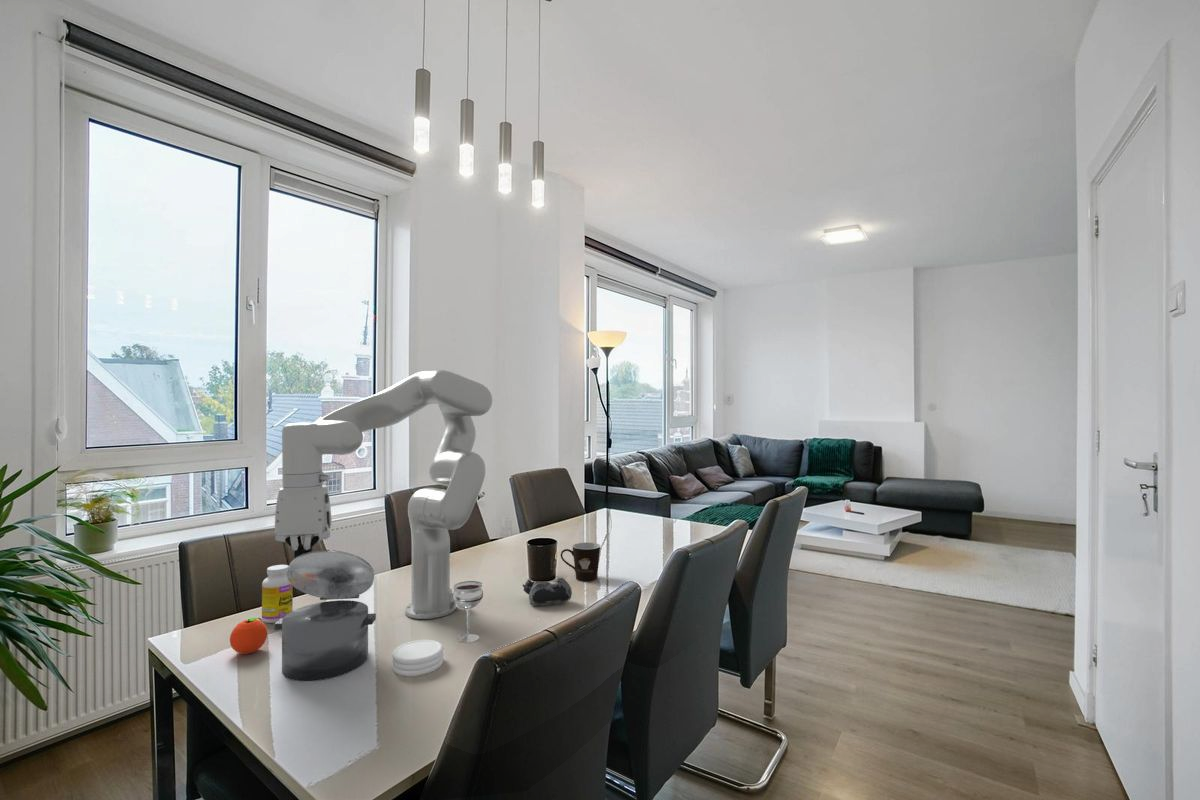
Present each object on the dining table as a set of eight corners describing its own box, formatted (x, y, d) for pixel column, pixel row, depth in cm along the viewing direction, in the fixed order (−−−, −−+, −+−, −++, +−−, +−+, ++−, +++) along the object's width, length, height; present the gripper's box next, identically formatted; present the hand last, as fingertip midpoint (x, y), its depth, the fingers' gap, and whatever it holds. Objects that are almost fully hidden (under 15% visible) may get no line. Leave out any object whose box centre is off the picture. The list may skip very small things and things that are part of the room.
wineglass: (450, 635, 130) (450, 582, 130) (480, 630, 133) (480, 579, 133) (455, 646, 124) (455, 591, 124) (486, 641, 127) (486, 587, 127)
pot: (382, 643, 126) (382, 598, 126) (363, 677, 110) (363, 625, 110) (292, 648, 123) (293, 602, 123) (259, 684, 107) (260, 631, 107)
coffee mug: (605, 577, 174) (605, 544, 174) (590, 584, 167) (590, 550, 167) (574, 571, 180) (574, 539, 181) (558, 578, 173) (558, 545, 173)
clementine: (246, 643, 126) (247, 611, 126) (277, 643, 126) (277, 611, 126) (221, 659, 118) (221, 625, 118) (254, 659, 118) (254, 625, 118)
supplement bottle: (278, 625, 136) (278, 571, 137) (255, 623, 138) (255, 570, 138) (298, 615, 143) (298, 564, 143) (276, 613, 144) (276, 562, 144)
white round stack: (425, 651, 122) (425, 634, 122) (453, 664, 116) (453, 647, 116) (382, 667, 115) (382, 650, 115) (409, 682, 108) (409, 664, 108)
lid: (299, 602, 124) (302, 592, 126) (379, 598, 127) (381, 588, 129) (276, 556, 113) (280, 546, 115) (366, 553, 115) (368, 543, 117)
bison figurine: (573, 606, 150) (564, 592, 159) (573, 580, 150) (564, 567, 159) (528, 611, 146) (522, 597, 156) (528, 585, 146) (522, 572, 156)
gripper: (345, 477, 124) (346, 560, 124) (272, 479, 122) (273, 564, 122) (334, 482, 117) (334, 570, 117) (256, 484, 115) (257, 574, 115)
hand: (303, 567), depth 120 cm, fingers closed
